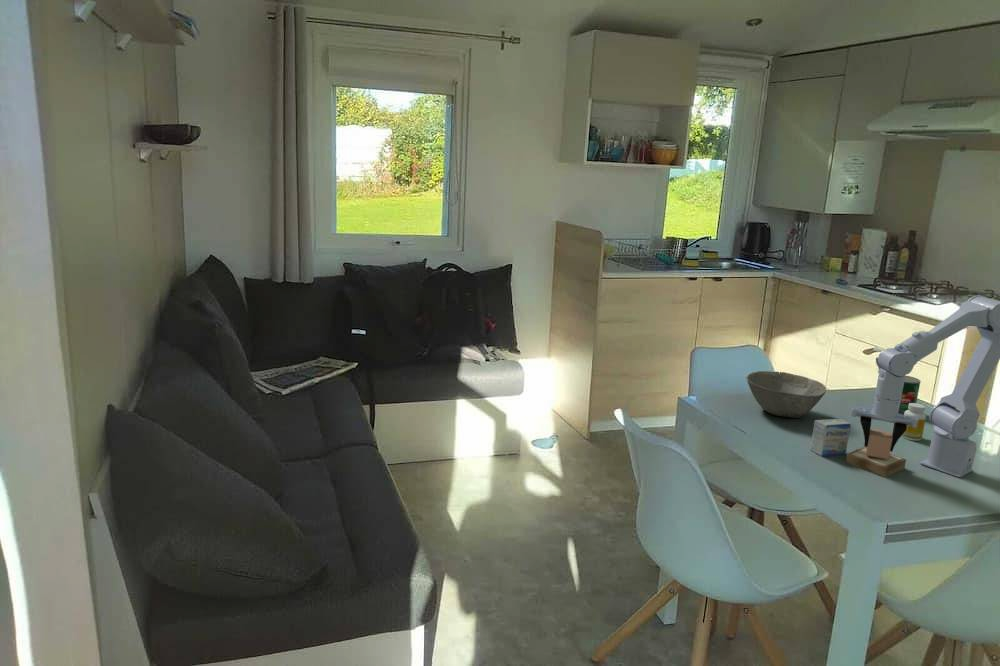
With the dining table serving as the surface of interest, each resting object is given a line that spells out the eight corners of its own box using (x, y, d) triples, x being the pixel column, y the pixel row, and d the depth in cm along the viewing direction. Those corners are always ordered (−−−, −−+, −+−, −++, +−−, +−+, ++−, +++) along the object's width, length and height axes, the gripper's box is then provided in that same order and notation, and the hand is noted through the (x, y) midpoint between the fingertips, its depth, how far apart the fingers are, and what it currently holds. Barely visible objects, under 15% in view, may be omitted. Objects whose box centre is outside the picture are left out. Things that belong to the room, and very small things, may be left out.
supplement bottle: (924, 442, 198) (931, 409, 195) (903, 440, 199) (910, 407, 196) (917, 435, 203) (924, 403, 200) (897, 433, 204) (903, 401, 201)
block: (887, 452, 181) (891, 432, 180) (888, 459, 177) (892, 438, 175) (866, 448, 183) (869, 428, 182) (866, 455, 179) (869, 434, 177)
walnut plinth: (904, 468, 180) (906, 458, 179) (885, 477, 174) (887, 467, 173) (865, 454, 187) (866, 445, 187) (845, 462, 181) (847, 453, 181)
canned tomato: (907, 408, 225) (913, 375, 222) (918, 417, 218) (925, 383, 215) (881, 406, 226) (887, 373, 223) (891, 415, 218) (898, 381, 216)
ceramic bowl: (798, 433, 200) (803, 399, 198) (727, 408, 217) (731, 377, 215) (836, 417, 214) (841, 386, 212) (766, 396, 231) (771, 366, 229)
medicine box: (820, 456, 184) (826, 425, 182) (809, 449, 189) (814, 419, 187) (846, 454, 187) (851, 423, 184) (834, 448, 191) (839, 417, 189)
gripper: (920, 397, 176) (910, 448, 180) (855, 387, 183) (847, 436, 186) (922, 406, 170) (911, 458, 174) (855, 394, 176) (846, 445, 180)
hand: (878, 447), depth 179 cm, fingers closed on block, 5 cm apart
